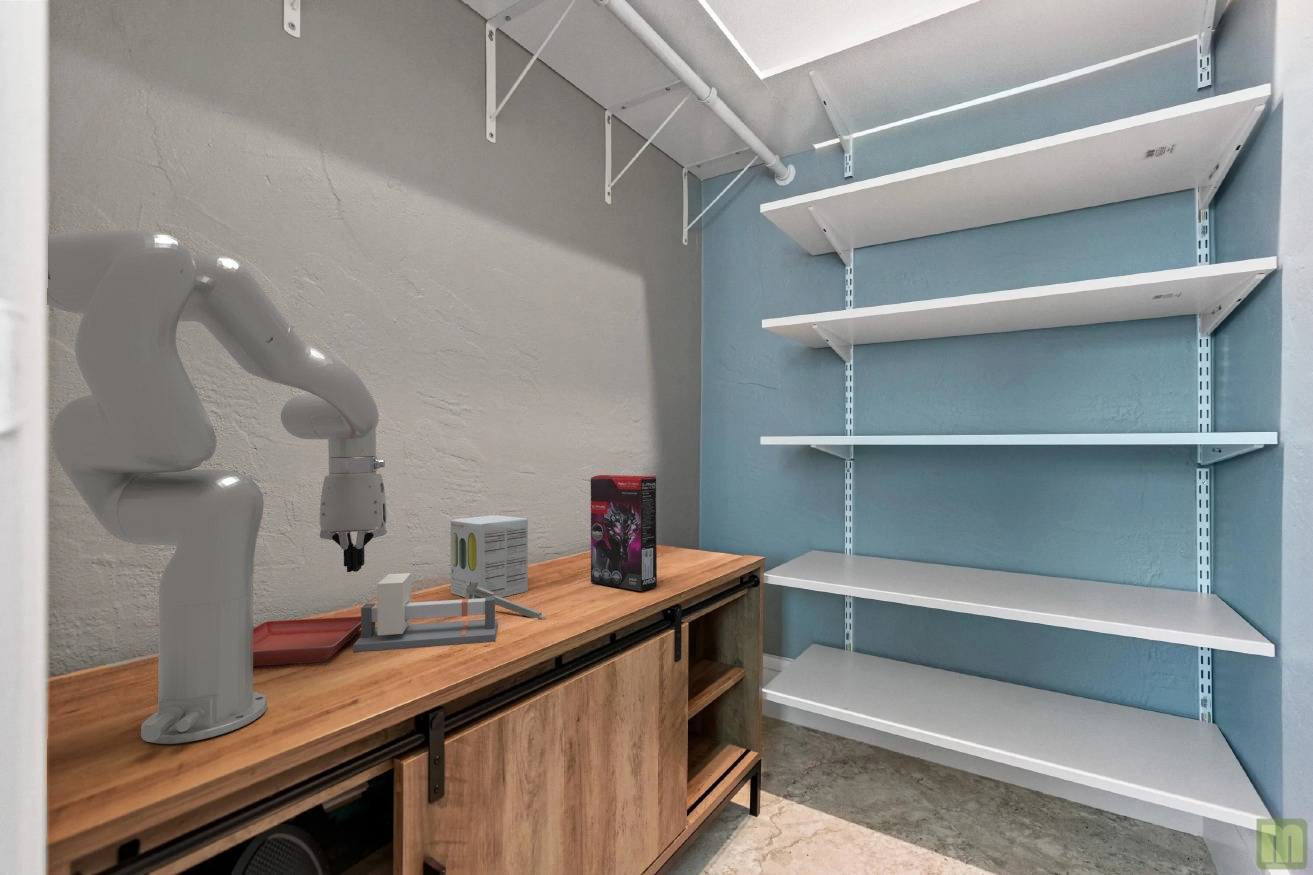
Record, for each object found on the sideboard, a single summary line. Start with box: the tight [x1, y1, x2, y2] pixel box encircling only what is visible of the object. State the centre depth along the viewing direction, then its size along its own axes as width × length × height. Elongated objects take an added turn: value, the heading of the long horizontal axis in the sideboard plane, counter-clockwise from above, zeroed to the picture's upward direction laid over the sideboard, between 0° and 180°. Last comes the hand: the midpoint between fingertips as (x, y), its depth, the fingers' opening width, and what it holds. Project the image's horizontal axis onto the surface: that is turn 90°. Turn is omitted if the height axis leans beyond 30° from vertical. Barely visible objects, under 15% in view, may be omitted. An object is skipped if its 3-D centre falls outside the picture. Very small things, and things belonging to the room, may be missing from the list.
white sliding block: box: [376, 572, 412, 635], centre depth 105 cm, size 8×4×9 cm, turn 13°
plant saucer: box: [253, 615, 361, 667], centre depth 101 cm, size 18×18×3 cm
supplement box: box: [449, 514, 529, 599], centre depth 140 cm, size 13×13×18 cm
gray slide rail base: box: [353, 596, 498, 653], centre depth 107 cm, size 10×23×6 cm, turn 103°
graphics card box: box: [590, 474, 658, 592], centre depth 146 cm, size 17×7×27 cm, turn 53°
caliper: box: [464, 580, 547, 620], centre depth 122 cm, size 20×1×6 cm, turn 65°
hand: (354, 569), depth 105 cm, fingers closed
